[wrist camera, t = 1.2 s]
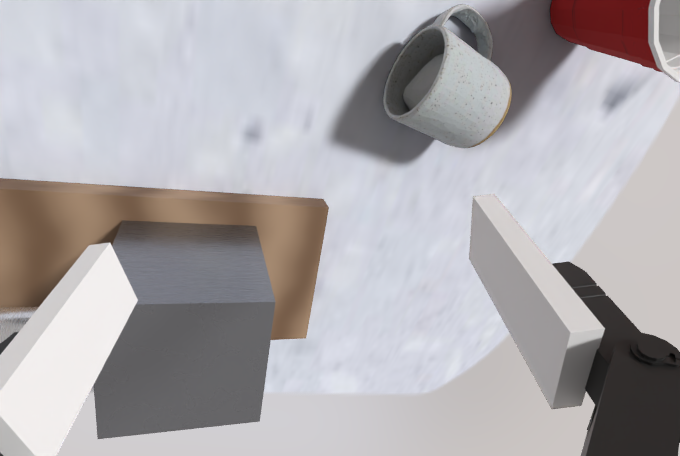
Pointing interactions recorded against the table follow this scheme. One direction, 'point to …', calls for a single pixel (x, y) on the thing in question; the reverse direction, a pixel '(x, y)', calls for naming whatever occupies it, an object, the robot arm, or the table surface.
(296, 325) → the base plate
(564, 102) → the table surface
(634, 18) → the plastic cup
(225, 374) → the bearing block
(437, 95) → the ceramic mug
